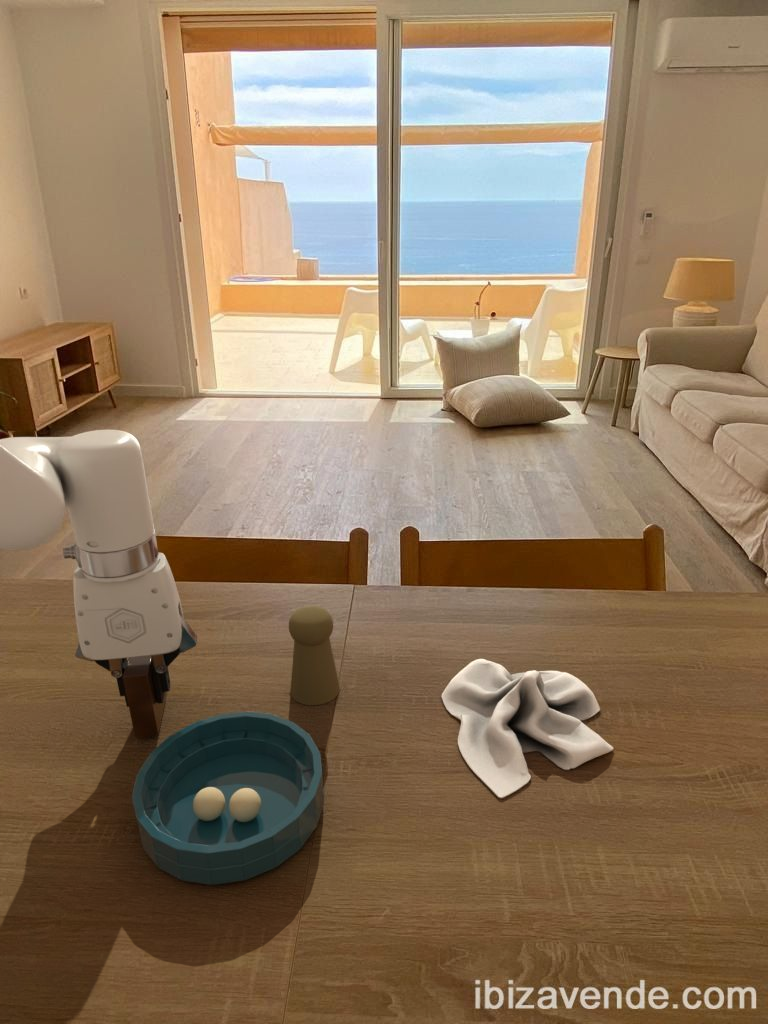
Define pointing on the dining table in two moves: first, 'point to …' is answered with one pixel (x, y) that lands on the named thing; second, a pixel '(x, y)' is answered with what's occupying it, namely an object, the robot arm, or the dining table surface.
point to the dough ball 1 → (209, 803)
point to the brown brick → (142, 697)
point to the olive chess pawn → (313, 657)
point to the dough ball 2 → (245, 805)
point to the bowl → (229, 797)
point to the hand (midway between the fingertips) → (147, 695)
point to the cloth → (520, 721)
